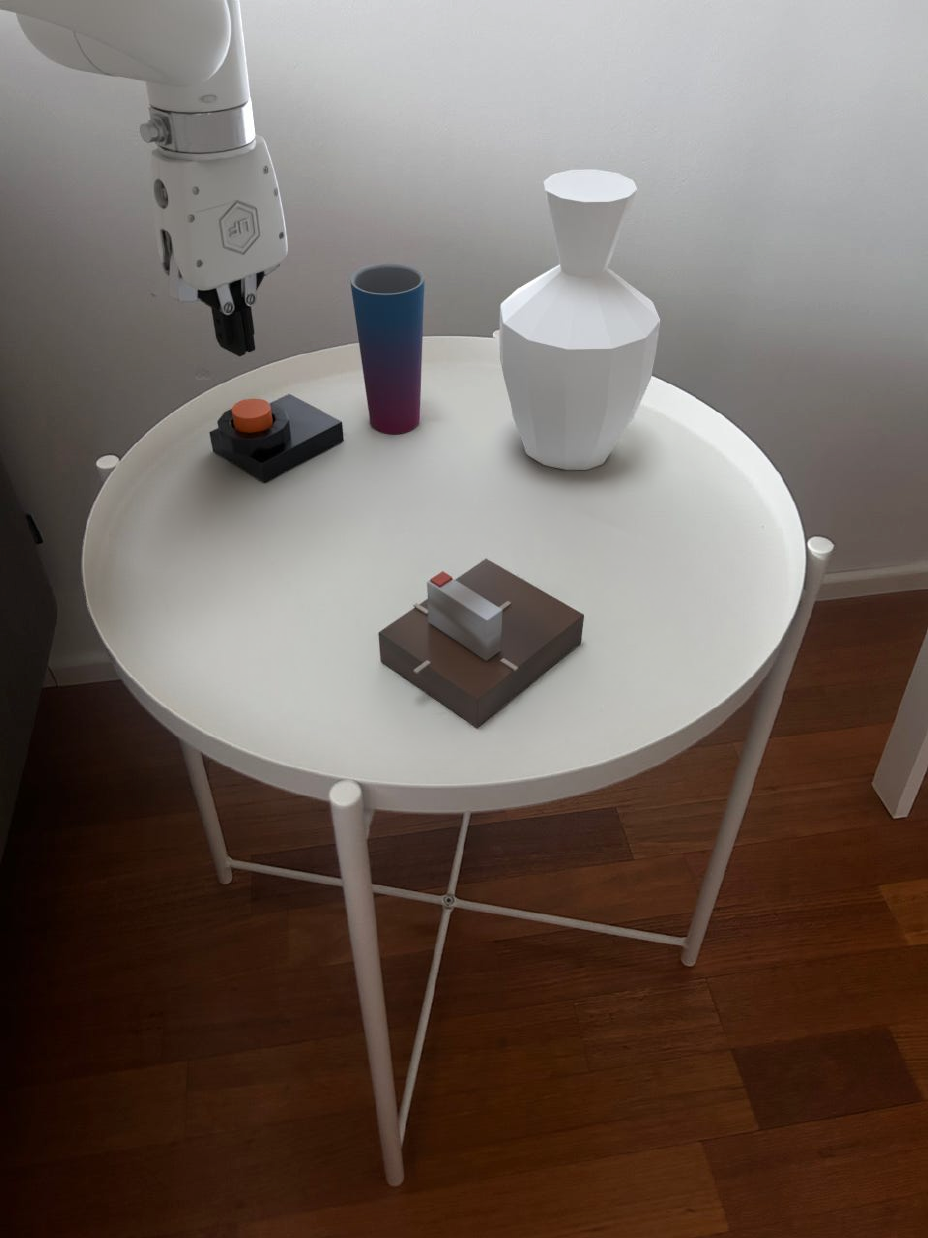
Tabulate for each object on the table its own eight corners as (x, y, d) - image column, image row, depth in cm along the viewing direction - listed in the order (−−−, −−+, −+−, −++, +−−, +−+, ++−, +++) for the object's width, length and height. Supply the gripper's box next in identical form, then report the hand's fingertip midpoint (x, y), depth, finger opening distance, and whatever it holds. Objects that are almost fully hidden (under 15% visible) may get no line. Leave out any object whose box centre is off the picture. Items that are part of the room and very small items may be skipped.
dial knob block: (467, 738, 71) (468, 707, 69) (368, 668, 76) (365, 637, 74) (582, 643, 78) (585, 613, 76) (484, 585, 83) (485, 555, 81)
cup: (438, 431, 101) (435, 287, 91) (373, 444, 99) (363, 299, 89) (415, 398, 106) (410, 258, 96) (352, 411, 104) (340, 269, 94)
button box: (258, 486, 94) (252, 450, 91) (206, 454, 98) (198, 418, 95) (344, 441, 100) (341, 405, 97) (291, 412, 104) (287, 377, 101)
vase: (465, 450, 98) (466, 186, 81) (555, 396, 106) (573, 144, 89) (581, 509, 91) (609, 233, 74) (669, 445, 99) (712, 183, 82)
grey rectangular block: (501, 650, 73) (503, 606, 70) (486, 661, 72) (487, 617, 69) (443, 612, 76) (442, 568, 73) (427, 622, 75) (426, 578, 73)
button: (250, 438, 93) (247, 422, 92) (226, 424, 95) (223, 408, 94) (280, 423, 95) (278, 407, 94) (256, 410, 97) (254, 394, 96)
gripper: (149, 158, 71) (192, 393, 83) (311, 116, 79) (329, 334, 91) (90, 136, 75) (140, 363, 87) (251, 97, 83) (276, 310, 95)
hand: (237, 348), depth 89 cm, fingers closed
